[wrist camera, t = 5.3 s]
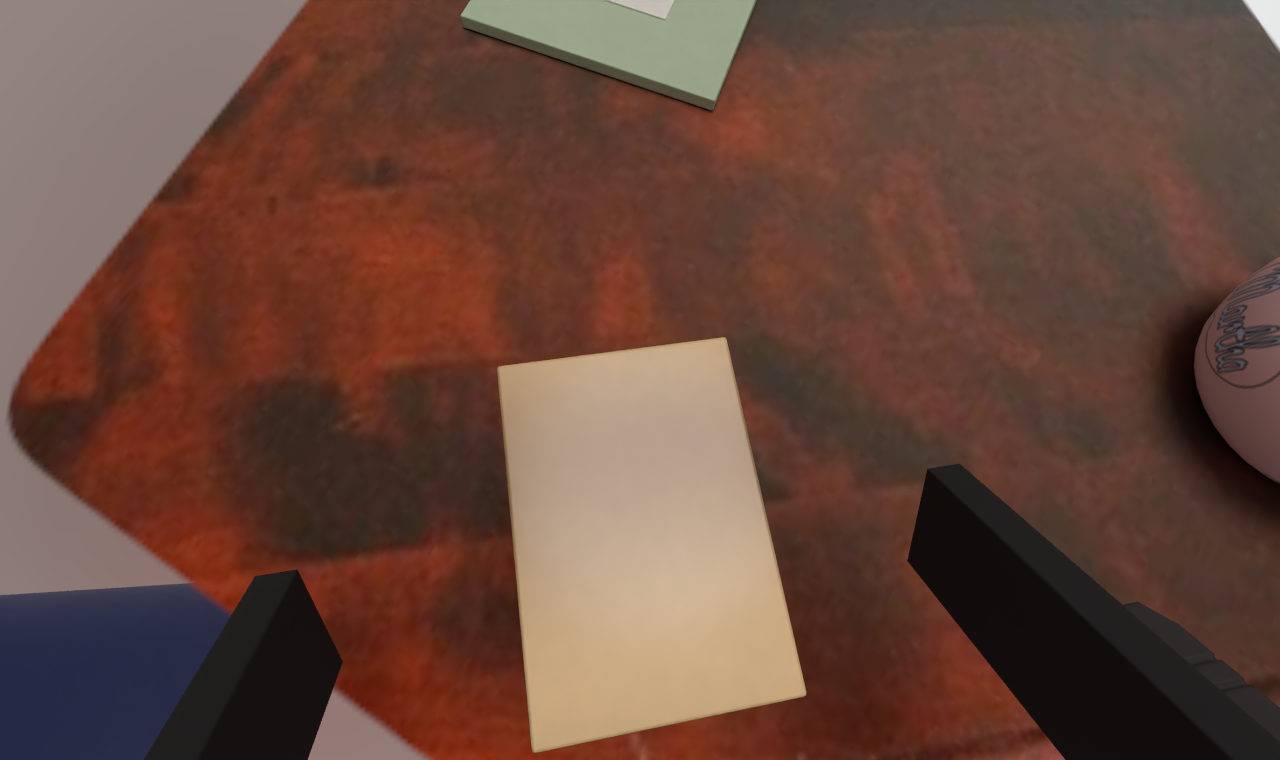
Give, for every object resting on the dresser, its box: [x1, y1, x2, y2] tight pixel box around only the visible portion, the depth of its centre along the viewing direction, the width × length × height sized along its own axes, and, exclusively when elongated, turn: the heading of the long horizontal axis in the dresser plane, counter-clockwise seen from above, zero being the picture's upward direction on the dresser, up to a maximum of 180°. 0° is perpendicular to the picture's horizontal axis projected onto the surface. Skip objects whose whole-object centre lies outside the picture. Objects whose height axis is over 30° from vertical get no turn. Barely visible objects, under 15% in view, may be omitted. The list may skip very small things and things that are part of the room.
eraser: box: [497, 337, 806, 753], centre depth 13 cm, size 6×4×12 cm
